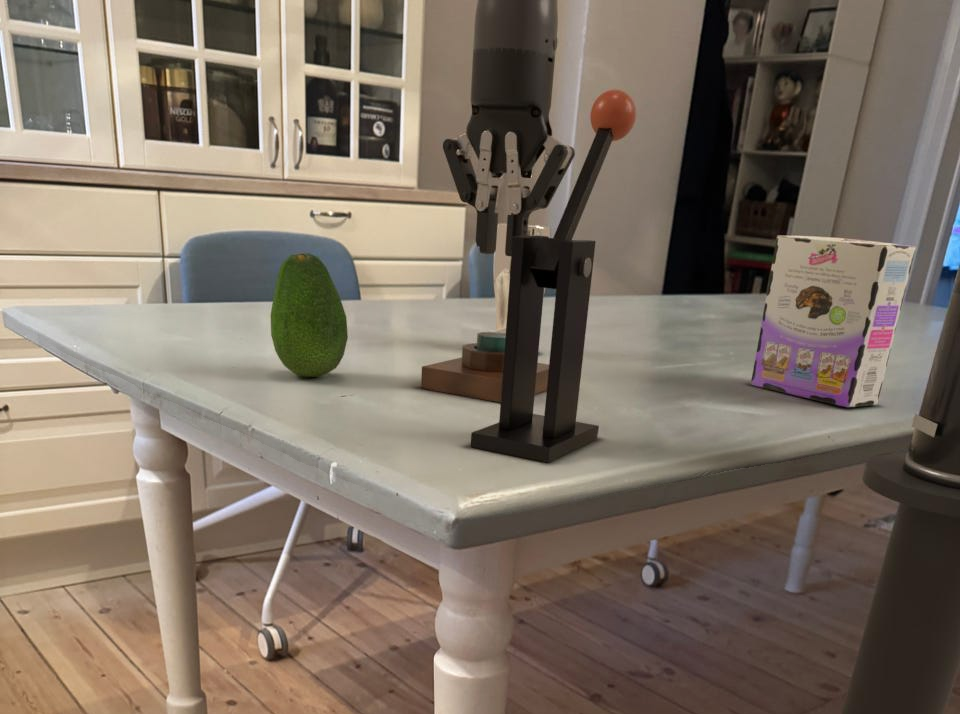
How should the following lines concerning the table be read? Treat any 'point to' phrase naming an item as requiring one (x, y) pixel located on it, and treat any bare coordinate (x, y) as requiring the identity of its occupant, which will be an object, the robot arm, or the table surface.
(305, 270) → the avocado
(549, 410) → the bracket
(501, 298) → the beer glass
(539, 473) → the table surface
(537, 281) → the lever
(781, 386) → the candy box
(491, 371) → the button block
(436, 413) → the table surface
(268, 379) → the table surface
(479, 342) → the button
